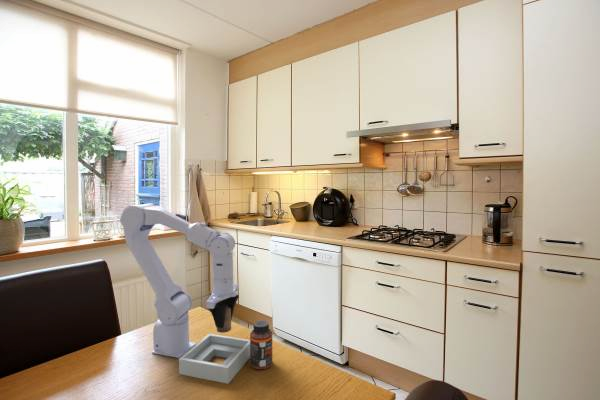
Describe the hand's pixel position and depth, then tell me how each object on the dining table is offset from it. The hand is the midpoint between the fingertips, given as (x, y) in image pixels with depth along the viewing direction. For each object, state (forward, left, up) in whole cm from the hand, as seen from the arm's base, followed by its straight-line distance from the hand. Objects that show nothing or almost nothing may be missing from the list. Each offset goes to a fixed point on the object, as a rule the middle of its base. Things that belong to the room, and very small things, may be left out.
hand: (223, 323), depth 93 cm
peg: (0, 0, -2) cm, 2 cm away
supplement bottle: (+13, -3, -9) cm, 16 cm away
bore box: (+1, -6, -8) cm, 10 cm away
